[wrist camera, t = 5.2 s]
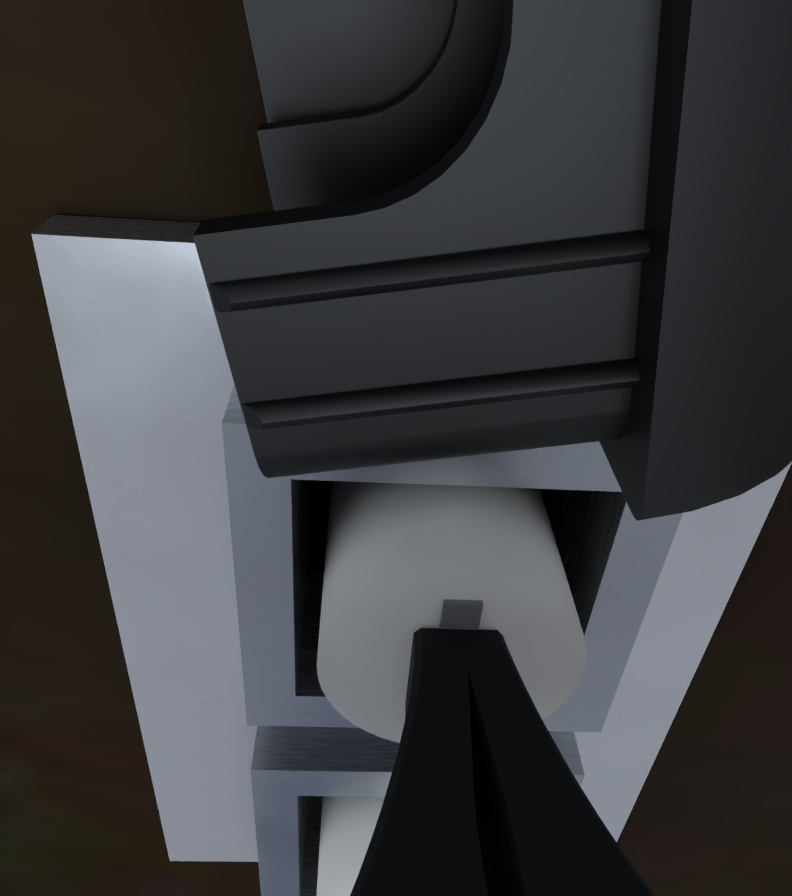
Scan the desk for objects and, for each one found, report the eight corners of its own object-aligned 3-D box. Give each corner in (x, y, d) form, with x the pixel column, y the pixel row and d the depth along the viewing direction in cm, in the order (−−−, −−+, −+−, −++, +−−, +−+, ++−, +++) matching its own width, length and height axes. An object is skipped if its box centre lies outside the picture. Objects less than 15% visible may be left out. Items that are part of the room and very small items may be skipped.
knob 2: (520, 583, 17) (559, 753, 13) (328, 577, 17) (315, 749, 13) (557, 422, 14) (616, 580, 11) (331, 412, 14) (316, 570, 11)
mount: (598, 833, 25) (627, 951, 22) (176, 828, 24) (149, 951, 21) (844, 259, 13) (974, 348, 10) (53, 215, 12) (-43, 297, 10)
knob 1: (470, 786, 22) (488, 946, 19) (325, 784, 22) (315, 946, 18) (490, 696, 20) (515, 860, 16) (326, 692, 19) (316, 858, 16)
